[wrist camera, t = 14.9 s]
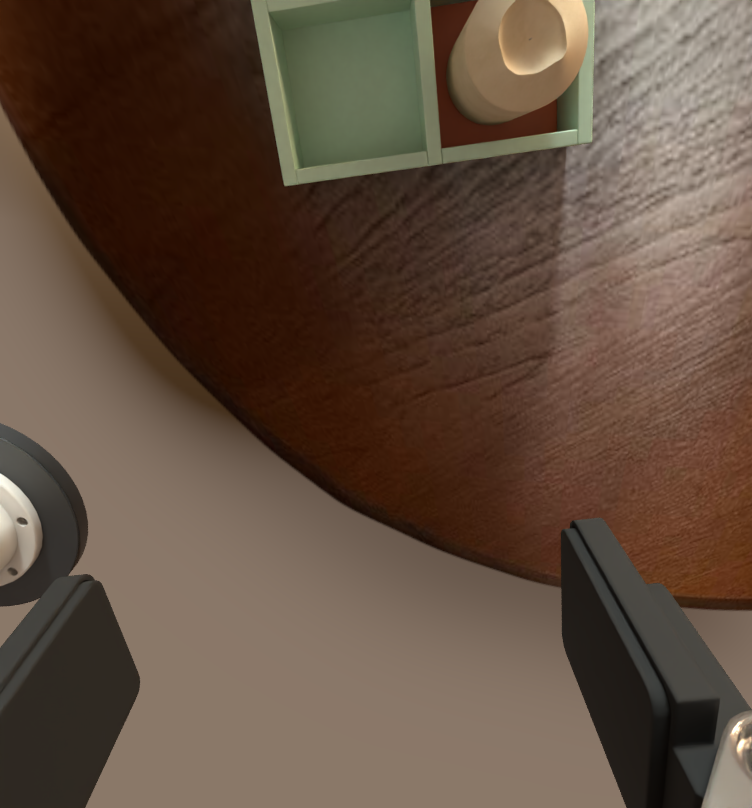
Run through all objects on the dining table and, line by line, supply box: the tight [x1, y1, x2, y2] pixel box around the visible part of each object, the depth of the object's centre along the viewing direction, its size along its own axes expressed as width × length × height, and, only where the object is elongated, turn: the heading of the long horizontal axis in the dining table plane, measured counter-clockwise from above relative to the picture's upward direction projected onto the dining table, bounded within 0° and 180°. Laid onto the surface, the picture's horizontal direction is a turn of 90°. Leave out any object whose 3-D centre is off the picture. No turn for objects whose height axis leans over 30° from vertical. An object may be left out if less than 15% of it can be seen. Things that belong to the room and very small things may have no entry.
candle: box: [446, 0, 588, 125], centre depth 28 cm, size 6×6×10 cm
